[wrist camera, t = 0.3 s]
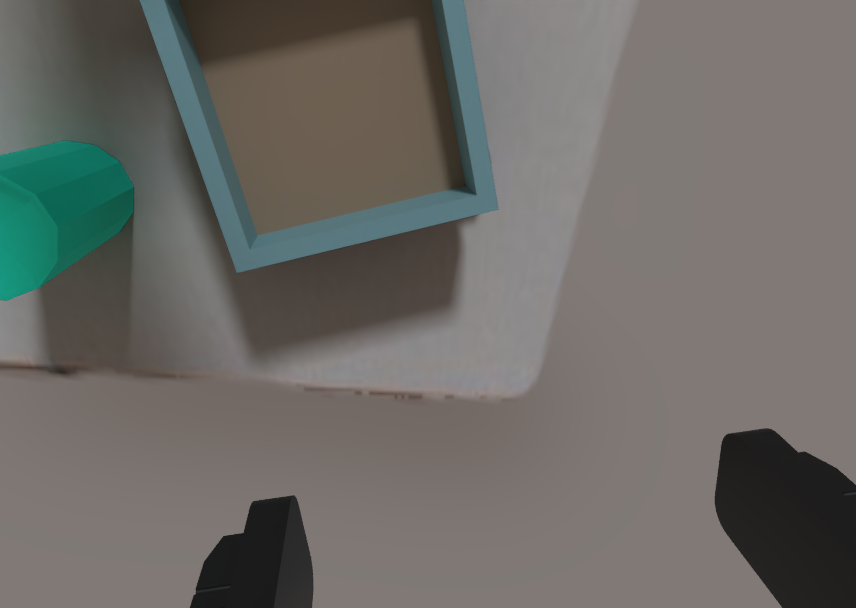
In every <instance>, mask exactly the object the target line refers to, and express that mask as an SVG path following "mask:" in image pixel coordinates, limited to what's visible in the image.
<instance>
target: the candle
mask: <svg viewBox="0 0 856 608" xmlns="http://www.w3.org/2000/svg"><path fill="white" fill-rule="evenodd" d="M133 212H134V186H133V185H132V183H131V181H130V179H129V177H128V176H127V174H126V172H125V170H124V168H123V167H122V165H121V163H120V162H119V161H117V160H116V159H115V158H113V157H112V156H110V155H109V154H107V153H106V152H105V151H103V150H102V149H100V148H99V147H97V146H96V145H92V144H85V143H79V142H72V141H62V142H58V143H53V144H49V145H44V146H40V147H36V148H31V149H27V150H22V151H18V152H14V153H9V154H5V155H1V156H0V300H4V301H7V300H9V299H12V298H14V297H17V296H19V295H22V294H24V293H27V292H30V291H32V290H35V289H37V288H39V287H41V286H42V285H44V284H45V283H47V282H48V281H50V280H51V279H52V278H54V277H55V276H57V275H58V274H60V273H61V272H63V271H64V270H65V269H67V268H68V267H70V266H71V265H73V264H74V263H76V262H77V261H78V260H80V259H81V258H83V257H84V256H86V255H87V254H89V253H90V252H91V251H93V250H94V249H96V248H97V247H99V246H100V245H102V244H103V243H104V242H106V241H107V240H109V239H110V238H112V237H113V236H115V235H116V234H117V233H119V232H120V231H121V229H122V228H123V227H124V225H125V224H126V222H127V221H128V219H129V218H130V217H131V215H132V214H133Z"/></svg>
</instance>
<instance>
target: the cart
mask: <svg viewBox="0 0 856 608" xmlns="http://www.w3.org/2000/svg"><path fill="white" fill-rule="evenodd" d="M140 3H141V5H142V8H143V11H144V14H145V17H146V19H147V22H148V25H149V28H150V31H151V33H152V36H153V39H154V42H155V45H156V48H157V50H158V53H159V56H160V59H161V62H162V64H163V67H164V70H165V73H166V76H167V78H168V81H169V84H170V87H171V90H172V92H173V95H174V98H175V101H176V104H177V106H178V109H179V112H180V115H181V118H182V120H183V123H184V126H185V129H186V132H187V134H188V137H189V140H190V143H191V146H192V149H193V151H194V154H195V157H196V160H197V163H198V165H199V168H200V171H201V174H202V177H203V179H204V182H205V185H206V188H207V191H208V193H209V196H210V199H211V202H212V205H213V207H214V210H215V213H216V216H217V219H218V221H219V224H220V227H221V230H222V233H223V235H224V238H225V241H226V244H227V247H228V250H229V252H230V255H231V258H232V261H233V264H234V266H235V269H236V272H237V273H239V272H243V271H247V270H251V269H256V268H260V267H264V266H268V265H272V264H276V263H280V262H284V261H289V260H293V259H297V258H301V257H305V256H309V255H313V254H317V253H321V252H326V251H330V250H334V249H338V248H342V247H346V246H350V245H354V244H359V243H363V242H367V241H371V240H375V239H379V238H383V237H387V236H392V235H396V234H400V233H404V232H408V231H412V230H416V229H420V228H424V227H429V226H433V225H437V224H441V223H445V222H449V221H453V220H457V219H462V218H466V217H470V216H474V215H478V214H482V213H486V212H490V211H495V210H499V209H498V203H497V197H496V191H495V185H494V179H493V173H492V167H491V159H490V153H489V149H488V143H487V137H486V131H485V125H484V119H483V113H482V107H481V101H480V95H479V89H478V83H477V77H476V71H475V65H474V59H473V53H472V47H471V41H470V35H469V29H468V23H467V17H466V11H465V5H464V0H140Z"/></svg>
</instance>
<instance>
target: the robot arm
mask: <svg viewBox="0 0 856 608" xmlns="http://www.w3.org/2000/svg"><path fill="white" fill-rule="evenodd" d="M715 507H716V512H717V515H718V518H719V521H720V523H721V525H722V527H723V529H724V531H725V532H726V534H727V535H728V536H729V537H730V539H731V540H732V542H733V543H734V544H735V546H736V547H737V548H738V550H739V551H740V552H741V554H742V555H743V556H744V558H745V559H746V560H747V561H748V563H749V564H750V565H751V567H752V568H753V569H754V571H755V572H756V573H757V575H758V576H759V577H760V579H761V580H762V581H763V583H764V584H765V585H766V586H767V588H768V589H769V590H770V592H771V593H772V594H773V596H774V597H775V598H776V600H777V601H778V602H779V604H780V605H781V606H782V608H856V485H855V484H854V483H853V482H852V481H850V480H849V479H848V478H847V477H846V476H845V475H844V474H843V473H841V472H840V471H839V470H838V469H837V468H835V467H833V466H831V465H829V464H827V463H826V462H824V461H822V460H819V459H818V458H816V457H814V456H812V455H811V454H809V453H807V452H799V453H798V452H797V451H796V450H795V449H794V448H793V447H792V446H790V444H788V443H787V442H786V441H785V440H784V439H783V438H782V437H781V436H780V435H779V434H777V433H776V432H775V431H773V430H772V429H758V430H751V431H744V432H738V433H731V434H727V435H726V436H725V437H724V438H723V441H722V445H721V453H720V460H719V468H718V477H717V484H716V491H715ZM312 600H313V570H312V562H311V556H310V551H309V547H308V543H307V540H306V534H305V530H304V526H303V522H302V517H301V513H300V509H299V505H298V501H297V499H296V497H295V496H294V495H293V496H287V497H280V498H272V499H266V500H259V501H253V502H252V504H251V506H250V509H249V514H248V518H247V521H246V525H245V530H244V533H241V534H234V535H228V536H223V538H222V539H221V540H220V541H219V543H218V544H217V545H216V547H215V548H214V549H213V551H212V552H211V553H210V555H209V556H208V557H207V559H206V560H205V561H204V564H203V567H202V570H201V574H200V577H199V580H198V583H197V587H196V595H194V596H193V600H192V603H191V606H190V608H312Z"/></svg>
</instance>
